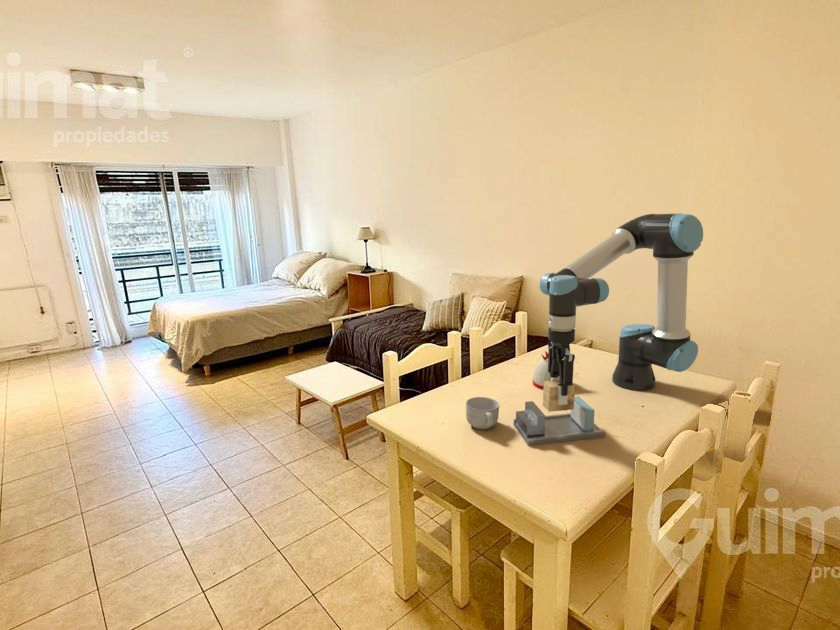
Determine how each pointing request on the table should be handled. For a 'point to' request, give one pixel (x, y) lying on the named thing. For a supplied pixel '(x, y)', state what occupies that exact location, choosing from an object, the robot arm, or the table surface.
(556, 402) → the oak block
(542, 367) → the white and red dome
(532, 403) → the fixed jaw
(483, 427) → the teacup
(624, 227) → the robot arm
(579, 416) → the block
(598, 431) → the vise bed
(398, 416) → the table surface
